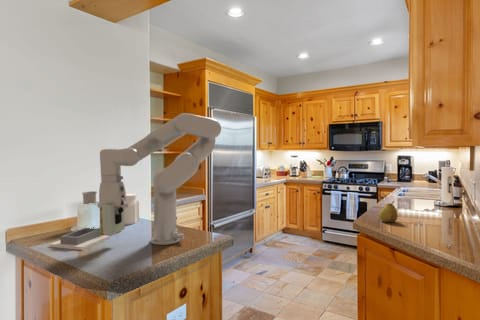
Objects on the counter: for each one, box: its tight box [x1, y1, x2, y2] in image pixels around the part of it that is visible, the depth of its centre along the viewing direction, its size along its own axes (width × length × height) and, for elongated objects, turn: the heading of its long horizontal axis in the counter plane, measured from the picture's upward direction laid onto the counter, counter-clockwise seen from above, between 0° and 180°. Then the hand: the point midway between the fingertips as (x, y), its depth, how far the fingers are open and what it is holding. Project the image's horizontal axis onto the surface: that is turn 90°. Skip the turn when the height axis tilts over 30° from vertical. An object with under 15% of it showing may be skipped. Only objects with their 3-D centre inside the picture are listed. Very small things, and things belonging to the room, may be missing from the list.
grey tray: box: [49, 227, 111, 251], centre depth 125 cm, size 16×16×4 cm
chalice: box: [81, 191, 98, 205], centre depth 149 cm, size 7×7×18 cm
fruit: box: [378, 200, 399, 224], centre depth 161 cm, size 9×9×12 cm
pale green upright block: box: [102, 204, 125, 236], centre depth 120 cm, size 4×8×12 cm, turn 166°
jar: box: [124, 193, 140, 226], centre depth 160 cm, size 12×10×15 cm
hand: (113, 222), depth 120 cm, fingers closed on pale green upright block, 4 cm apart
